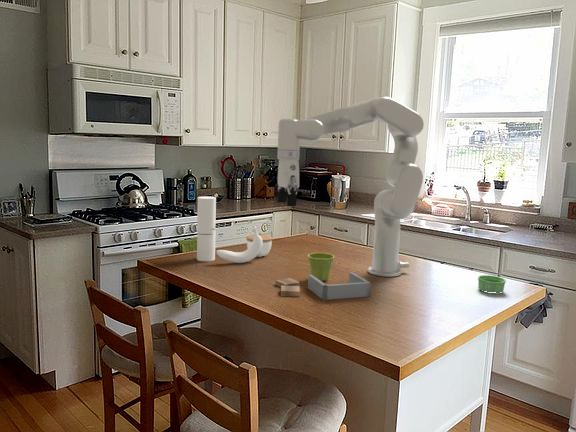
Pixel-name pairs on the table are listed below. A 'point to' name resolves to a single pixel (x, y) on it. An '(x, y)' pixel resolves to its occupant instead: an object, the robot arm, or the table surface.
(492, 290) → the ramekin
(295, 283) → the tile
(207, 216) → the cylindrical container
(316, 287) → the u-shaped fence
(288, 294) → the tile
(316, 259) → the plant pot
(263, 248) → the lidded jar
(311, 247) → the table surface
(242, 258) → the white curved piece
